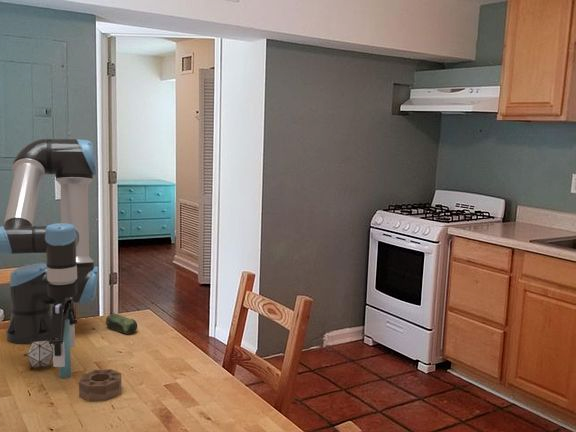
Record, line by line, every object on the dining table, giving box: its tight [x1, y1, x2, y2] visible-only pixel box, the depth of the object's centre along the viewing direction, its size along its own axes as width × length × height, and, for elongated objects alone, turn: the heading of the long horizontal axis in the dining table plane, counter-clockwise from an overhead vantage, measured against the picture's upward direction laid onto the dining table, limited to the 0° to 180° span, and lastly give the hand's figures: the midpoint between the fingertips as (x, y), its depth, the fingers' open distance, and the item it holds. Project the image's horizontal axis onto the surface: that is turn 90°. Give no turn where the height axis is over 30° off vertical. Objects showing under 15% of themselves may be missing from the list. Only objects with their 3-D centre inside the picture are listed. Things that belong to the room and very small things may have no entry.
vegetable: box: [105, 313, 138, 335], centre depth 194 cm, size 14×5×5 cm, turn 55°
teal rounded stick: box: [58, 319, 72, 379], centre depth 156 cm, size 3×3×16 cm
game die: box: [23, 338, 53, 371], centre depth 162 cm, size 9×8×10 cm
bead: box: [78, 368, 122, 402], centre depth 148 cm, size 10×10×4 cm
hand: (64, 356), depth 156 cm, fingers open, 13 cm apart
